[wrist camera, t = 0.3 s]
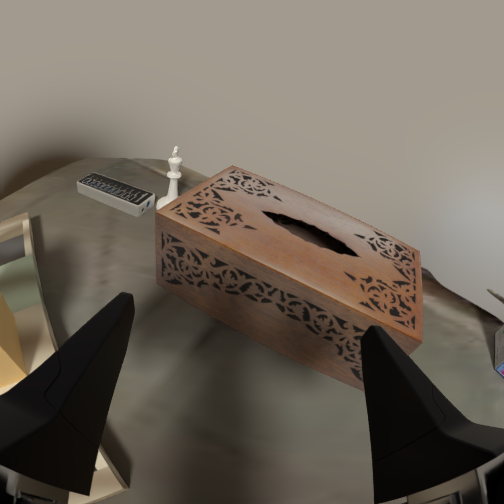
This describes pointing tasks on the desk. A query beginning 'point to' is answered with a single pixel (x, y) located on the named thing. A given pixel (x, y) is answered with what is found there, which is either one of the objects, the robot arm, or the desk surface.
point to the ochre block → (9, 348)
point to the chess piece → (172, 179)
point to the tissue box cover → (289, 271)
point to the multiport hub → (116, 194)
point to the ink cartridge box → (499, 351)
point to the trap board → (40, 332)
